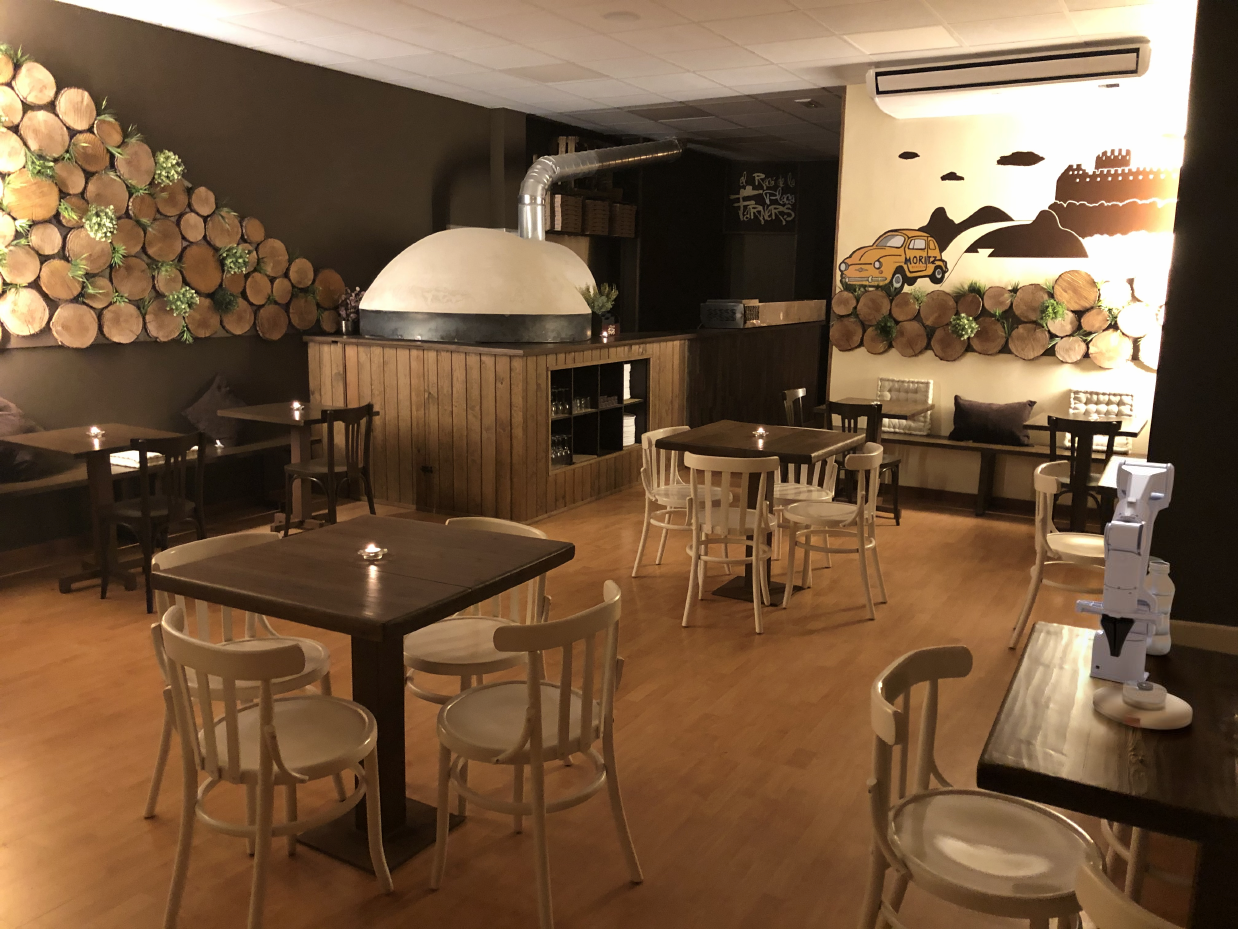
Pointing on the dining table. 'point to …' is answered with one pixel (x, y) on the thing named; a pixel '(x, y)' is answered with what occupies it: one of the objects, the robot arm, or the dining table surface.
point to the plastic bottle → (1160, 605)
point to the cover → (1144, 695)
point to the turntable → (1114, 708)
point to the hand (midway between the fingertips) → (1115, 655)
